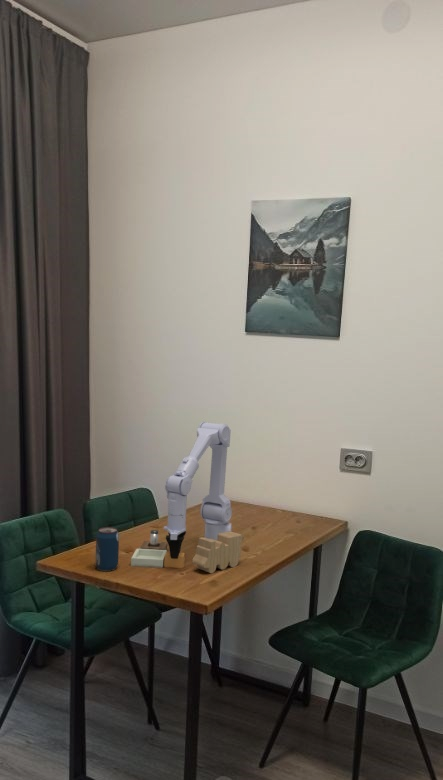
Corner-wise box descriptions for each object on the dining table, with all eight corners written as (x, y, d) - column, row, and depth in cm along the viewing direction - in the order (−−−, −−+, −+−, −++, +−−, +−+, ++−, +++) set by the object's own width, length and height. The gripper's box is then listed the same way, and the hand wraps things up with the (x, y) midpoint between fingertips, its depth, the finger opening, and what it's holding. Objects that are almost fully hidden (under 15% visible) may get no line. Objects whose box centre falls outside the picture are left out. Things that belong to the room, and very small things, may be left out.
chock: (184, 563, 205) (184, 553, 205) (183, 567, 201) (183, 556, 201) (165, 562, 205) (166, 552, 205) (164, 566, 201) (164, 555, 201)
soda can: (121, 566, 200) (123, 528, 200) (111, 573, 194) (112, 533, 193) (102, 563, 202) (103, 525, 202) (90, 569, 196) (92, 531, 195)
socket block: (167, 549, 219) (167, 542, 219) (164, 556, 211) (164, 549, 211) (143, 548, 220) (144, 540, 220) (139, 555, 212) (140, 547, 212)
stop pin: (158, 551, 217) (158, 530, 216) (157, 553, 214) (157, 532, 214) (150, 550, 217) (151, 529, 217) (149, 553, 214) (150, 531, 214)
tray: (166, 557, 210) (167, 550, 210) (162, 567, 200) (163, 559, 200) (136, 556, 211) (136, 548, 211) (130, 566, 201) (131, 558, 201)
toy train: (191, 571, 199) (192, 539, 198) (230, 560, 211) (231, 530, 210) (203, 576, 195) (205, 543, 194) (242, 564, 207) (243, 534, 206)
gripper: (167, 507, 210) (165, 548, 211) (161, 518, 195) (159, 562, 196) (188, 508, 210) (187, 549, 210) (184, 520, 195) (182, 563, 196)
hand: (175, 556), depth 203 cm, fingers closed on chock, 4 cm apart
